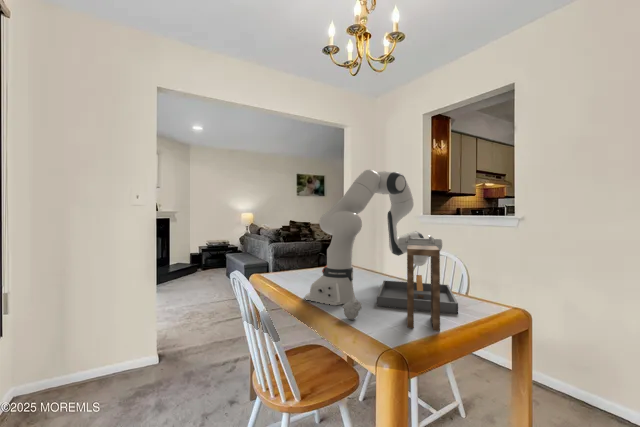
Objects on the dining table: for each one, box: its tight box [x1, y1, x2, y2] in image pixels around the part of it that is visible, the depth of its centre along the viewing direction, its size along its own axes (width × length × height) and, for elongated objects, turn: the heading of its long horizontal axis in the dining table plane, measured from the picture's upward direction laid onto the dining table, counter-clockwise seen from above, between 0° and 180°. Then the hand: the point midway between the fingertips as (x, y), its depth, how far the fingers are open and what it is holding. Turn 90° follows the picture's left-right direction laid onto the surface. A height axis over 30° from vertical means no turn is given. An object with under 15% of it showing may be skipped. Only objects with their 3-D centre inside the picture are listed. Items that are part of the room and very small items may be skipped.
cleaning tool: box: [414, 274, 431, 301], centre depth 132 cm, size 9×22×3 cm, turn 162°
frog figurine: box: [341, 299, 363, 321], centre depth 102 cm, size 6×7×7 cm
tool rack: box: [406, 245, 441, 332], centre depth 98 cm, size 10×12×26 cm
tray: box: [376, 280, 459, 315], centre depth 126 cm, size 30×30×4 cm
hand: (419, 237), depth 133 cm, fingers open, 8 cm apart
